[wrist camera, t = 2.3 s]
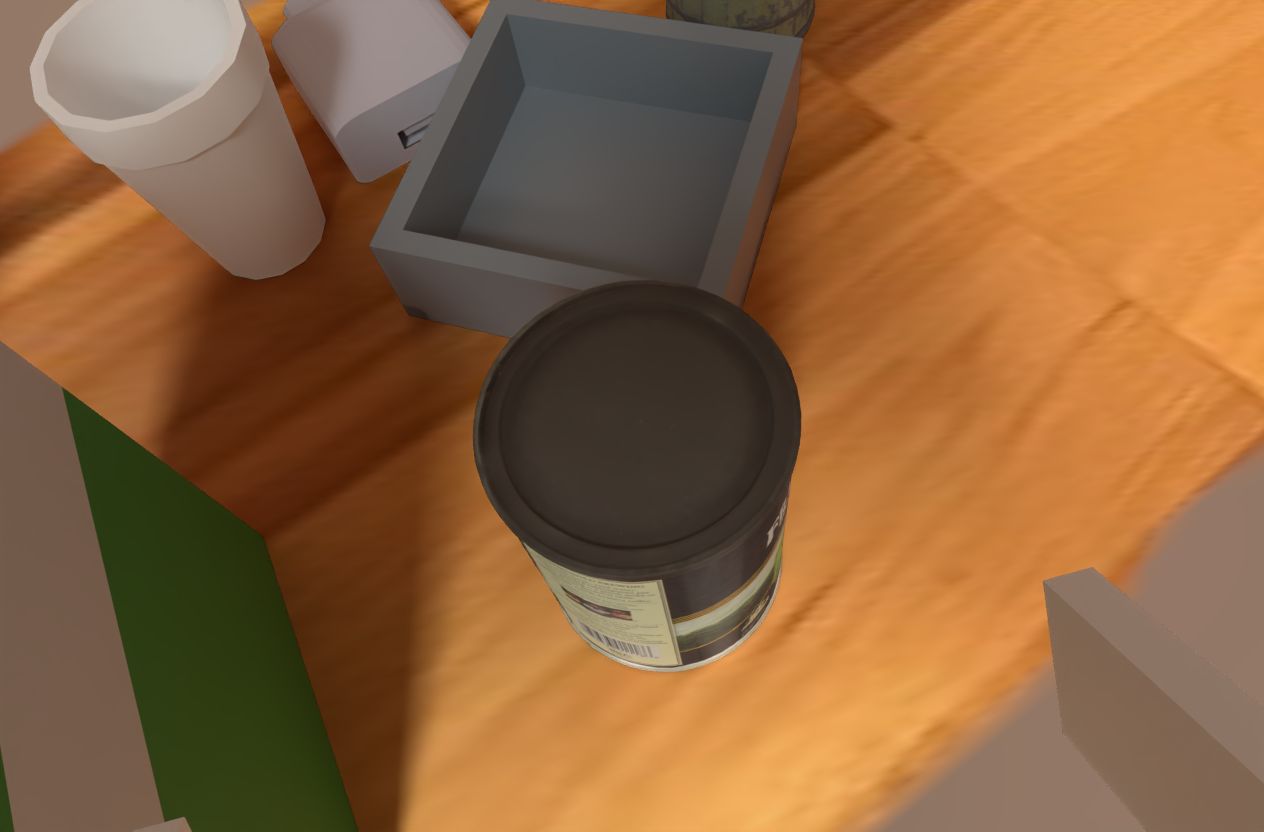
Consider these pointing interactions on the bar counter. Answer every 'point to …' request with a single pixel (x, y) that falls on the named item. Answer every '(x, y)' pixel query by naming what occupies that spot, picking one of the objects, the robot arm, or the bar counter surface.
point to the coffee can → (645, 466)
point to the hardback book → (141, 642)
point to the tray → (590, 163)
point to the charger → (371, 73)
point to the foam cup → (185, 123)
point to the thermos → (747, 14)
